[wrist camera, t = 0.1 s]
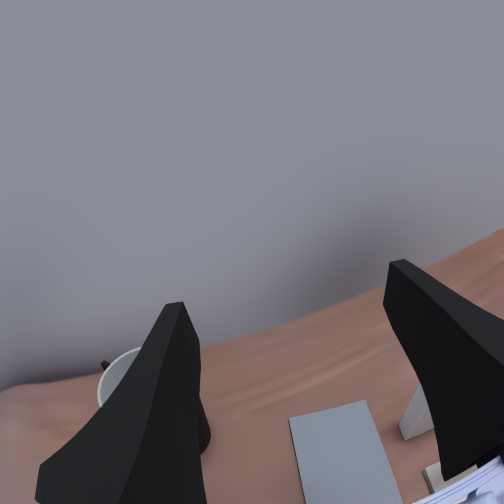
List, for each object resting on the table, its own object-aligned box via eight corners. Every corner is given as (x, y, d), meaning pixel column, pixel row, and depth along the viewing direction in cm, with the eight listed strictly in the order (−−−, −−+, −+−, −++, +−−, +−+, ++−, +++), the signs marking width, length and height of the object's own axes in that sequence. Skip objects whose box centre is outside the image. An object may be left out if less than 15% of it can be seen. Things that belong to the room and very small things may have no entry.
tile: (460, 415, 22) (495, 362, 17) (404, 440, 22) (433, 393, 17) (452, 400, 24) (483, 345, 19) (397, 423, 24) (422, 373, 19)
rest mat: (410, 534, 13) (412, 533, 13) (317, 563, 13) (318, 563, 13) (364, 402, 27) (364, 399, 27) (289, 420, 27) (288, 417, 26)
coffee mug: (237, 444, 25) (212, 393, 20) (164, 484, 21) (112, 444, 16) (185, 375, 34) (157, 315, 29) (125, 405, 30) (84, 350, 25)
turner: (502, 517, 10) (545, 496, 6) (450, 551, 10) (490, 542, 6) (471, 445, 18) (503, 410, 15) (422, 470, 18) (450, 442, 15)
